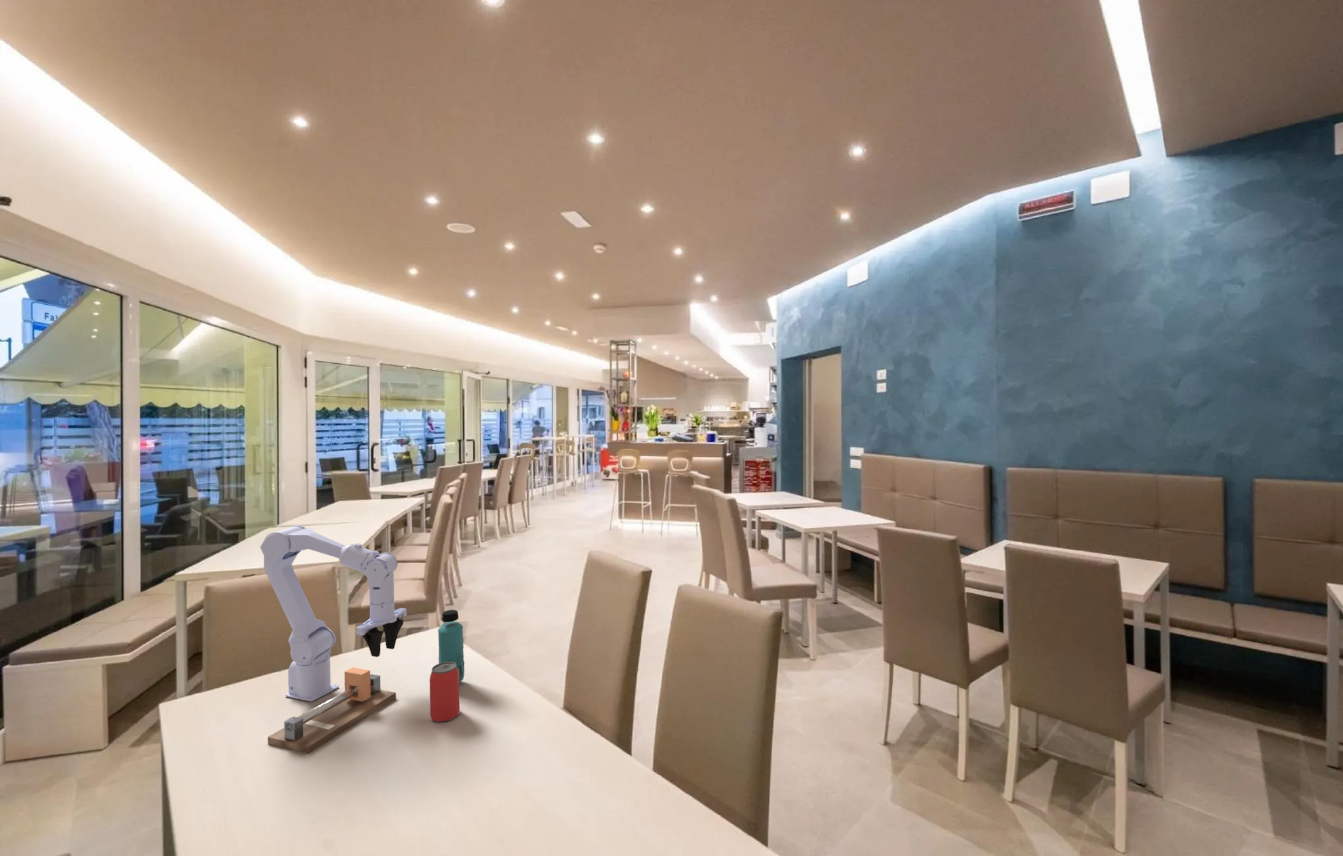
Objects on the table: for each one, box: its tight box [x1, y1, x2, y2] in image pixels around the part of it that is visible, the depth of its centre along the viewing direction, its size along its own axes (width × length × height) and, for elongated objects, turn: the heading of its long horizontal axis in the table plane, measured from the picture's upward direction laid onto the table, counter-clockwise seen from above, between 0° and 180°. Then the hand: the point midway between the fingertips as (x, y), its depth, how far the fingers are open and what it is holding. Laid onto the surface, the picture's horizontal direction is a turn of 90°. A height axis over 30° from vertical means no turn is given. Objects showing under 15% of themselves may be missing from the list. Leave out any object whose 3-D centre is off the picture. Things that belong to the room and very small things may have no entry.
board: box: [267, 689, 397, 754], centre depth 131 cm, size 12×24×2 cm, turn 162°
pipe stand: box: [283, 673, 382, 742], centre depth 131 cm, size 3×23×4 cm, turn 162°
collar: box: [344, 667, 371, 702], centre depth 136 cm, size 6×2×7 cm, turn 72°
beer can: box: [429, 662, 461, 723], centre depth 132 cm, size 7×7×12 cm
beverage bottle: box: [437, 609, 466, 683], centre depth 147 cm, size 6×7×20 cm
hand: (383, 652), depth 144 cm, fingers open, 4 cm apart
